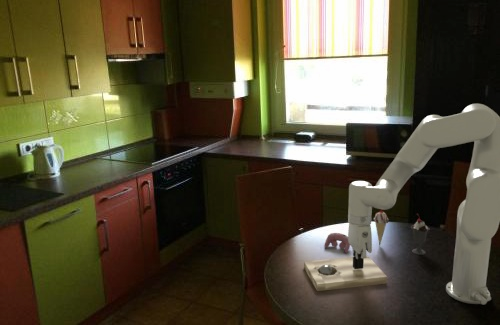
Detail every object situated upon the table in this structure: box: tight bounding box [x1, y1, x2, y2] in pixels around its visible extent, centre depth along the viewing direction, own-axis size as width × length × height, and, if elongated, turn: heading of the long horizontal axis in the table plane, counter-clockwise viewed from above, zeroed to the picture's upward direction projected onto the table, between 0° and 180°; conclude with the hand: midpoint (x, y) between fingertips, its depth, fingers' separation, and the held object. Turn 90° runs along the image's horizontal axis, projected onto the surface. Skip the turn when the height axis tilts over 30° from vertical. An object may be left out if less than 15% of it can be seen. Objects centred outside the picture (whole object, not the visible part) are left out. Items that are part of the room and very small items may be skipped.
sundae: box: [410, 213, 431, 256], centre depth 166 cm, size 7×7×15 cm
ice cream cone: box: [373, 210, 389, 247], centre depth 172 cm, size 6×6×15 cm
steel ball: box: [319, 265, 333, 276], centre depth 152 cm, size 4×4×4 cm
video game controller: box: [323, 232, 351, 254], centre depth 173 cm, size 10×5×7 cm, turn 59°
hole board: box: [303, 254, 388, 292], centre depth 153 cm, size 16×24×2 cm, turn 99°
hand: (358, 267), depth 151 cm, fingers closed
